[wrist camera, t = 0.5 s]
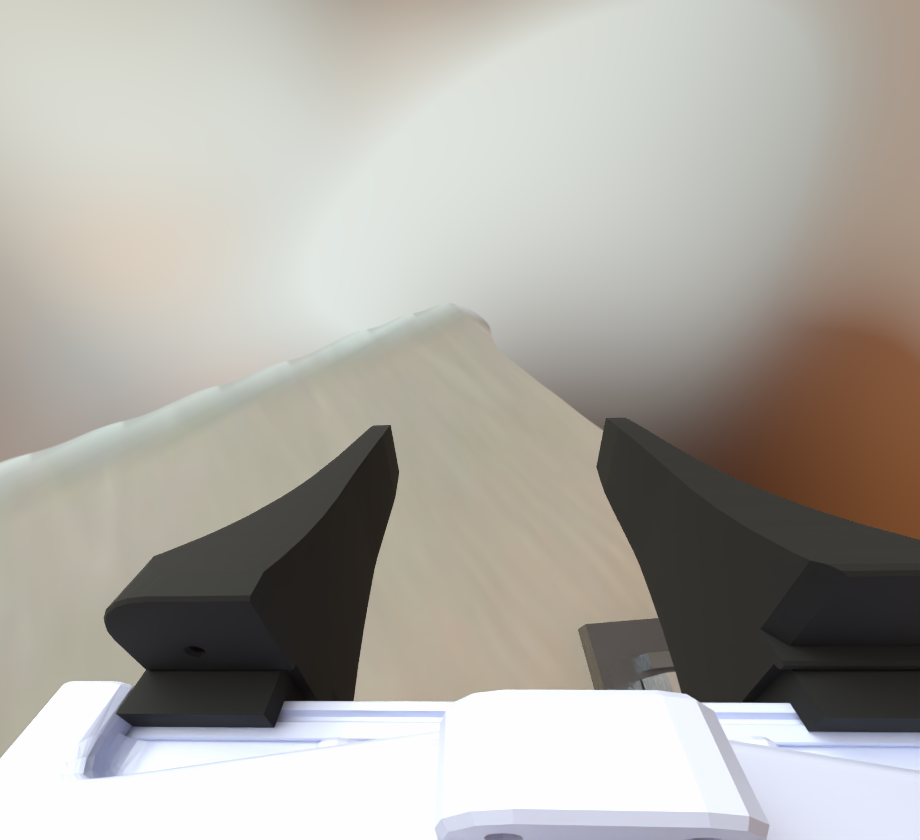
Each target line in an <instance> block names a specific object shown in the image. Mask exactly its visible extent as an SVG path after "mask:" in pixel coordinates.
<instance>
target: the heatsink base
mask: <svg viewBox="0 0 920 840" xmlns="http://www.w3.org/2000/svg"><path fill="white" fill-rule="evenodd" d="M578 630H579V634H580V638H581V641H582V645H583V649H584V652H585V656H586V660H587V663H588V667H589V671H590V674H591V678H592V681H593V685H594V689H595V690H645V687H644V684H643V681H642V679H644V678H648V677H652V676H655V675H659V674H663V673H667V672H675V669H674V665H673V662H672V659H671V656H670V652H669V649H668V646H667V643H666V639H665V636H664V633H663V630H662V627H661V624H660V621H659V618H655V619H643V620H631V621H619V622H607V623H595V624H585V625H584V626H582V627H581V628H580V629H578Z"/></svg>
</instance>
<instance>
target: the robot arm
mask: <svg viewBox="0 0 920 840" xmlns="http://www.w3.org/2000/svg"><path fill="white" fill-rule="evenodd" d="M597 470H598V474H599V477H600V480H601V483H602V486H603V489H604V492H605V494H606V496H607V499H608V501H609V503H610V505H611V507H612V509H613V511H614V513H615V515H616V517H617V519H618V521H619V523H620V525H621V527H622V529H623V531H624V533H625V535H626V537H627V539H628V541H629V543H630V545H631V547H632V549H633V551H634V553H635V556H636V558H637V560H638V562H639V565H640V567H641V570H642V573H643V575H644V578H645V581H646V584H647V586H648V589H649V592H650V594H651V597H652V600H653V603H654V606H655V609H656V612H657V615H658V618H659V621H660V624H661V627H662V630H663V633H664V636H665V639H666V643H667V646H668V649H669V652H670V656H671V659H672V662H673V665H674V669H675V672H676V676H677V679H678V683H679V686H680V690H681V693H675V692H667V691H659V690H498V691H490V692H481V693H473V694H471V695H469V696H467V697H464V698H462V699H460V700H458V701H456V702H404V701H354V693H355V685H356V678H357V670H358V663H359V657H360V650H361V643H362V637H363V630H364V624H365V618H366V612H367V607H368V601H369V595H370V590H371V585H372V579H373V574H374V569H375V565H376V561H377V557H378V553H379V550H380V546H381V543H382V540H383V537H384V533H385V530H386V527H387V523H388V520H389V517H390V513H391V510H392V507H393V503H394V500H395V495H396V489H397V483H398V476H399V469H398V464H397V458H396V453H395V447H394V442H393V436H392V431H391V425H379V426H372V427H371V428H369V429H368V430H367V431H366V432H365V433H364V434H363V435H361V436H360V437H359V438H358V439H357V440H356V441H355V442H354V443H353V444H351V445H350V446H349V447H348V448H347V449H346V450H345V451H343V452H342V453H341V454H340V455H339V456H338V457H336V458H335V459H334V460H333V461H331V462H330V463H329V464H328V465H326V466H325V467H324V468H323V469H321V470H320V471H319V472H318V473H316V474H315V475H314V476H312V477H311V478H310V479H308V480H307V481H305V482H304V483H303V484H301V485H300V486H298V487H297V488H295V489H294V490H292V491H290V492H289V493H287V494H286V495H284V496H283V497H281V498H279V499H277V500H276V501H274V502H272V503H270V504H269V505H267V506H265V507H263V508H261V509H260V510H258V511H256V512H254V513H253V514H251V515H249V516H247V517H245V518H243V519H241V520H239V521H237V522H235V523H233V524H231V525H228V526H226V527H224V528H222V529H220V530H218V531H215V532H213V533H211V534H209V535H206V536H204V537H202V538H199V539H197V540H194V541H192V542H189V543H187V544H184V545H182V546H179V547H177V548H174V549H172V550H169V551H167V552H164V553H162V554H159V555H156V556H154V557H153V558H152V559H151V560H150V561H149V563H148V564H147V565H146V566H145V567H144V568H143V569H142V570H141V571H140V573H139V574H138V575H137V576H136V577H135V578H134V579H133V580H132V581H131V582H130V584H129V585H128V586H127V587H126V588H125V589H124V590H123V591H122V592H121V594H120V595H119V596H118V597H117V598H116V599H115V600H114V601H113V602H112V604H111V605H110V606H109V607H108V608H107V609H106V612H105V615H104V622H105V625H106V628H107V631H108V633H109V634H110V635H111V636H112V637H113V639H114V640H115V641H116V642H117V643H118V644H119V645H120V646H121V647H123V648H124V649H125V650H126V651H127V652H128V653H129V654H130V655H131V656H132V657H133V658H134V659H135V660H136V661H137V662H139V663H140V664H141V665H142V666H143V667H144V668H145V669H146V671H145V672H144V674H143V675H142V677H141V678H140V680H139V681H138V682H137V684H136V685H135V687H134V686H132V685H130V684H126V683H123V682H114V681H71V682H68V683H65V684H64V685H63V686H62V687H61V688H60V689H59V690H58V692H57V693H56V694H55V695H54V696H53V698H52V699H51V700H50V701H49V702H48V703H47V705H46V706H45V707H44V708H43V709H42V710H41V712H40V713H39V714H38V715H37V716H36V717H35V719H34V720H33V721H32V722H31V723H30V725H29V726H28V727H27V728H26V729H25V730H24V732H23V733H22V734H21V735H20V736H19V737H18V739H17V740H16V741H15V742H14V743H13V744H12V746H11V747H10V748H9V749H8V750H7V752H6V753H5V754H4V755H3V756H2V757H1V759H0V840H920V540H918V539H914V538H910V537H907V536H903V535H899V534H896V533H892V532H888V531H884V530H881V529H877V528H873V527H869V526H866V525H862V524H859V523H856V522H853V521H849V520H846V519H843V518H840V517H836V516H833V515H830V514H827V513H824V512H821V511H818V510H815V509H812V508H809V507H806V506H803V505H800V504H798V503H795V502H792V501H790V500H787V499H784V498H782V497H779V496H776V495H774V494H771V493H768V492H766V491H763V490H761V489H759V488H756V487H754V486H752V485H749V484H747V483H745V482H743V481H740V480H738V479H736V478H734V477H732V476H729V475H727V474H725V473H723V472H721V471H719V470H717V469H715V468H713V467H711V466H709V465H707V464H705V463H703V462H701V461H699V460H698V459H696V458H694V457H692V456H690V455H688V454H687V453H685V452H683V451H681V450H680V449H678V448H676V447H675V446H673V445H671V444H669V443H667V442H666V441H664V440H663V439H661V438H659V437H658V436H656V435H654V434H653V433H651V432H650V431H648V430H646V429H644V428H643V427H641V426H639V425H638V424H636V423H634V422H632V421H630V420H629V419H626V418H606V421H605V426H604V431H603V436H602V441H601V446H600V452H599V457H598V462H597Z"/></svg>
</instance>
